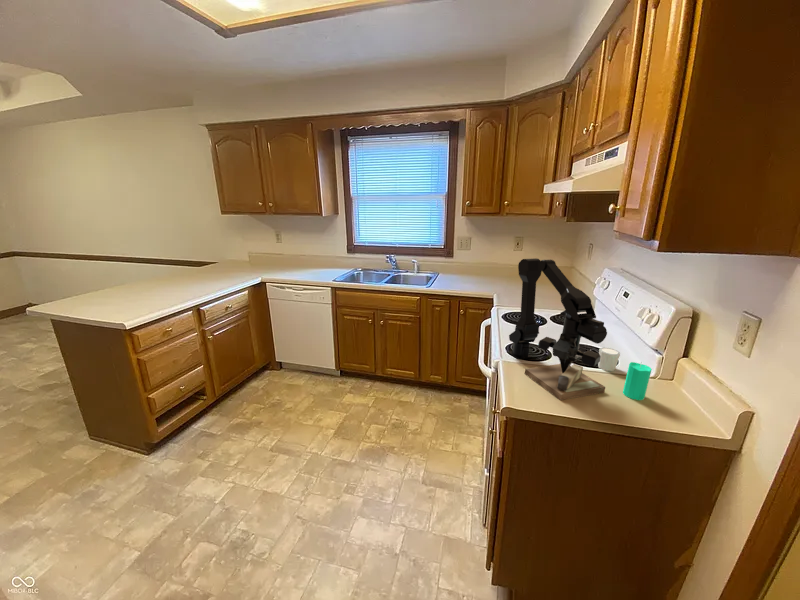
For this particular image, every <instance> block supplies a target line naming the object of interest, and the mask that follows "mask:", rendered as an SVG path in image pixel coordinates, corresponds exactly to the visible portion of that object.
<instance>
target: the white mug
mask: <svg viewBox="0 0 800 600" xmlns="http://www.w3.org/2000/svg"><path fill="white" fill-rule="evenodd" d="M598 353H599V354H600V356H601V358H600V362H599V363H597V367H598V368H599V369H600V370H603V371H606V372H614V371H615V370H616V368H617V364H618V361H619V358H620V356H621V352H620V351H618V350H616V349H614V348H611V347H600V348H599V350H598Z"/></svg>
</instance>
